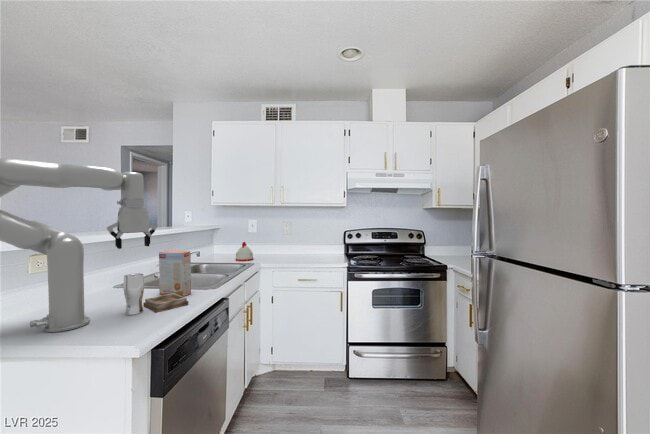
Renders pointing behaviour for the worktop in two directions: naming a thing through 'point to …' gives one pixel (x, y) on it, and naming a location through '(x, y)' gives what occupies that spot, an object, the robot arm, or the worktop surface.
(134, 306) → the beer glass
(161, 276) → the cracker box
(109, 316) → the worktop surface
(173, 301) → the brown square tray
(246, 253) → the cream dome with knob
